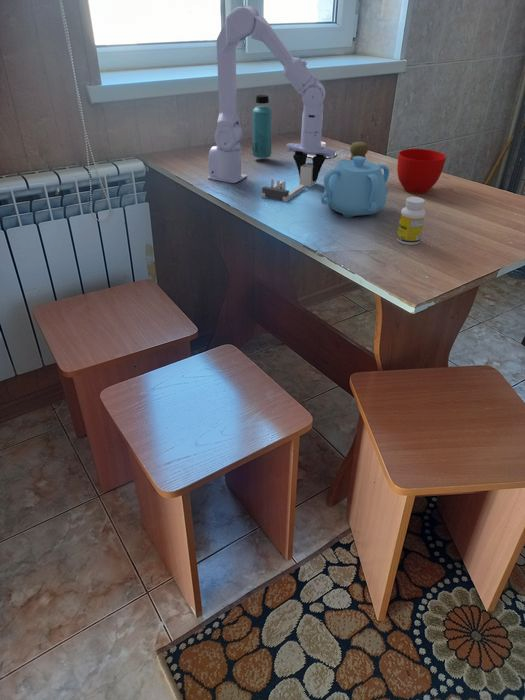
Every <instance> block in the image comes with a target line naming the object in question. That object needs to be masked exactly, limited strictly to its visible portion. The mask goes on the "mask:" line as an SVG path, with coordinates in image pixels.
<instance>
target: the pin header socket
mask: <svg viewBox="0 0 525 700" xmlns="http://www.w3.org/2000/svg"><path fill="white" fill-rule="evenodd" d="M274 180H275V179H274V178H271V179H270V186H263V187H262V188H261V193H260V196H261V197H262V198H266V197H267V199H271V198H272V200H276V199H277V200H278V201H281V200H283V201H282V202H286V201H287V202H288V201H289V200H291V199H292V198H294V197H295V196H297V195H298V194H299V192H300V191H301V192H303V191H304V190H305V186H304V185H300V184H299V185H298V186H296V187H295V188H293V189H292V190H287V189H286V182H287V181H286V180H280V179H276V183H274V182H275V181H274ZM280 187H281V188H280ZM303 189H304V190H303ZM301 192H300V193H301ZM297 193H298V194H297ZM296 194H297V195H296ZM294 195H295V196H294ZM293 196H294V197H293ZM290 198H291V199H290Z"/></svg>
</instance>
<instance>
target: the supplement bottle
mask: <svg viewBox="0 0 525 700" xmlns="http://www.w3.org/2000/svg"><path fill="white" fill-rule="evenodd" d="M424 206H425V199H424V198H421V197H418V196H409V197H407V198H406V200H405V206H403V208H402V209H401V211H400V215H399V222H398V228H397V234H396V241H397V242H399V243H401V244H403V245H407V246H414V245H418V244H419V243H420V242H421V238H422V232H423V228H424V223H425V218H426V210H425V209H424Z"/></svg>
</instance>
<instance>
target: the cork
mask: <svg viewBox="0 0 525 700" xmlns="http://www.w3.org/2000/svg"><path fill="white" fill-rule="evenodd" d="M349 150H350V154H351V156H350V159H349V160H353V157H355V156H362V157H365V158H366V155H367V154H368V151H369V146H368V144H367V143H366V142H365V141H364V142H363V141H354V142H352V144H350V147H349Z"/></svg>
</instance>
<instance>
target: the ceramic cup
mask: <svg viewBox="0 0 525 700" xmlns="http://www.w3.org/2000/svg"><path fill="white" fill-rule="evenodd" d="M446 160H447V156H446V154H444V153H443V152H440V151H437V150H434V149H433V150H430V149H426V148H407V149H403V150H400V151H399V152H398V155H397V168H396V169H397V171H396V172H397V177H398V181H399V183H400V185H401V187H402V188H403V189H404V191H405V192H407V193H411V194H417V193H418V194H419V193H420V194H425V193H427V192H428V191H429V190H430V189H433V187H434V186H435V185H436V183H437V182H438V181H439V179H440V177H441V175H442V172H443V169H444V166H445V164H446ZM418 194H417V195H418Z"/></svg>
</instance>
